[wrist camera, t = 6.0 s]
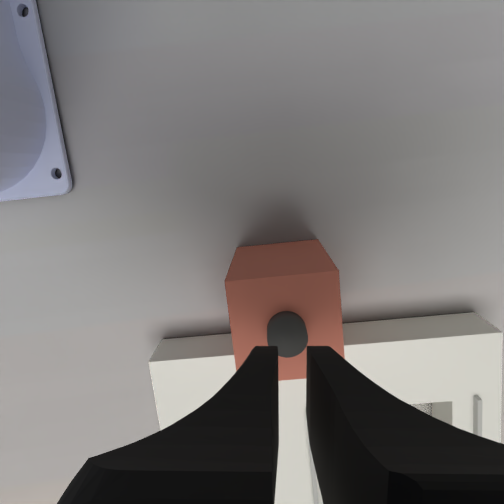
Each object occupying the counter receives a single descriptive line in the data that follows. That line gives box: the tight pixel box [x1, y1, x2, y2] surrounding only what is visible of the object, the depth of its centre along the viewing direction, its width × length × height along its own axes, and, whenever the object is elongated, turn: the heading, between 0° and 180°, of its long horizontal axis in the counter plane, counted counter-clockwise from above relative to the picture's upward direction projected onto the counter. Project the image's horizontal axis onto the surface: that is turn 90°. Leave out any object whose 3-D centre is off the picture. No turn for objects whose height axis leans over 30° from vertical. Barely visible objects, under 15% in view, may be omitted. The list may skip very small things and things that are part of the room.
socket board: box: [148, 312, 503, 504], centre depth 21 cm, size 16×16×3 cm
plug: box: [225, 239, 345, 381], centre depth 17 cm, size 4×4×7 cm
